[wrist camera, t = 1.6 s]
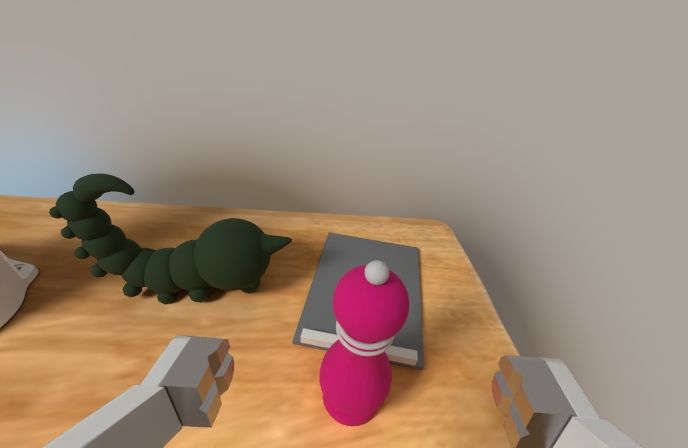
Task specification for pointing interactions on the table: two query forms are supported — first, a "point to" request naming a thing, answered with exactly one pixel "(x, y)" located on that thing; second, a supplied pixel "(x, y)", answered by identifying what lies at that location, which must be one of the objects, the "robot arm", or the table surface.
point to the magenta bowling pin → (362, 342)
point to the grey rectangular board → (342, 258)
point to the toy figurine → (168, 263)
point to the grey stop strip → (328, 339)
